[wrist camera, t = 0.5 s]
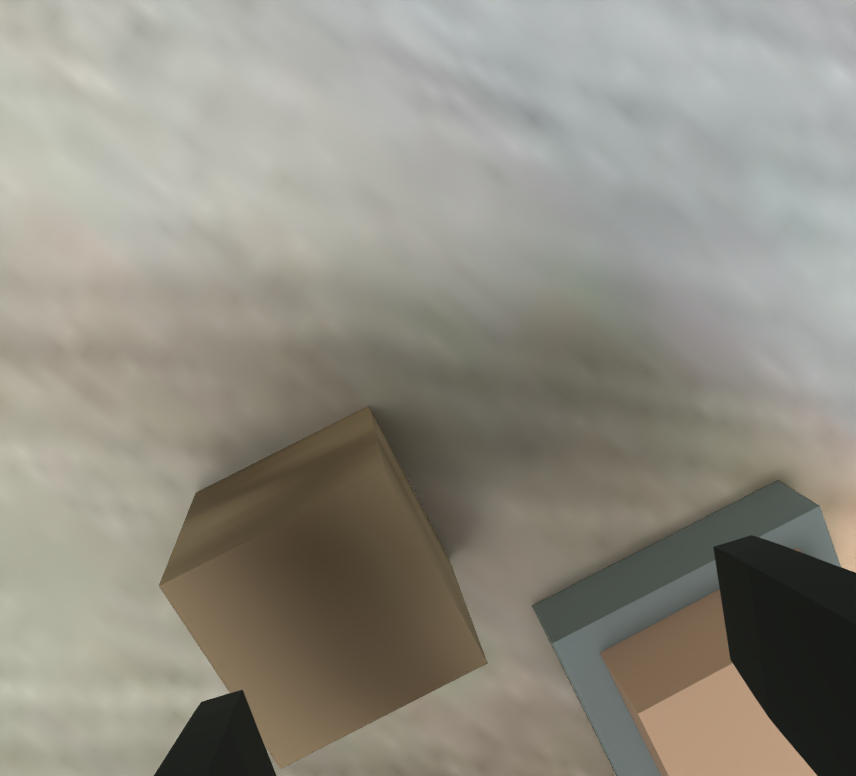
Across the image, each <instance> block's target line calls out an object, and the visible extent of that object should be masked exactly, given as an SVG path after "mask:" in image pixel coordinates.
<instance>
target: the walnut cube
mask: <svg viewBox="0 0 856 776" xmlns="http://www.w3.org/2000/svg"><path fill="white" fill-rule="evenodd" d="M159 587H160V588H161V590H162V591H163V593H164V594H165V596H166V597H167V599H168V600H169V602H170V603H171V605H172V606H173V608H174V609H175V611H176V612H177V614H178V615H179V617H180V618H181V620H182V621H183V623H184V624H185V626H186V628H187V629H188V631H189V632H190V634H191V635H192V637H193V638H194V640H195V641H196V643H197V644H198V646H199V647H200V649H201V650H202V652H203V653H204V655H205V656H206V658H207V659H208V661H209V662H210V664H211V665H212V667H213V668H214V670H215V671H216V673H217V674H218V676H219V677H220V679H221V680H222V682H223V683H224V685H225V686H226V688H227V689H228V691H229V692H230V693H233V692H236V691H239V690H243V692H244V694H245V697H246V699H247V702H248V704H249V707H250V710H251V712H252V715H253V717H254V720H255V722H256V725H257V728H258V730H259V733H260V735H261V738H262V740H263V743H264V745H265V746H266V748H267V749H268V751H269V752H270V754H271V755H272V757H273V758H274V760H275V761H276V763H277V764H278V766H279V767H280V769H281V768H283V767H285V766H287V765H289V764H291V763H293V762H295V761H297V760H299V759H301V758H303V757H305V756H307V755H309V754H311V753H313V752H314V751H316V750H318V749H320V748H322V747H324V746H326V745H328V744H330V743H332V742H334V741H336V740H338V739H340V738H342V737H344V736H346V735H348V734H350V733H352V732H354V731H356V730H358V729H359V728H361V727H363V726H365V725H367V724H369V723H371V722H373V721H375V720H377V719H379V718H381V717H383V716H385V715H387V714H389V713H391V712H393V711H395V710H397V709H399V708H401V707H403V706H405V705H406V704H408V703H410V702H412V701H414V700H416V699H418V698H420V697H422V696H424V695H426V694H428V693H430V692H432V691H434V690H436V689H438V688H440V687H442V686H444V685H446V684H448V683H450V682H451V681H453V680H455V679H457V678H459V677H461V676H463V675H465V674H467V673H469V672H471V671H473V670H475V669H477V668H479V667H481V666H483V665H485V664H487V661H486V658H485V655H484V652H483V650H482V647H481V644H480V642H479V639H478V636H477V633H476V631H475V628H474V625H473V623H472V620H471V617H470V615H469V612H468V609H467V606H466V604H465V601H464V598H463V596H462V593H461V590H460V587H459V585H458V582H457V579H456V577H455V574H454V571H453V569H452V566H451V563H450V560H449V558H448V556H447V554H446V553H445V551H444V549H443V547H442V545H441V543H440V541H439V539H438V537H437V535H436V533H435V532H434V530H433V528H432V526H431V524H430V522H429V520H428V518H427V516H426V514H425V513H424V511H423V509H422V507H421V505H420V503H419V501H418V499H417V497H416V495H415V493H414V492H413V490H412V488H411V486H410V484H409V482H408V480H407V478H406V476H405V474H404V472H403V471H402V469H401V467H400V465H399V463H398V461H397V459H396V457H395V455H394V453H393V452H392V450H391V448H390V446H389V444H388V442H387V440H386V438H385V436H384V434H383V432H382V431H381V429H380V427H379V425H378V423H377V421H376V419H375V417H374V415H373V413H372V411H371V410H370V408H369V406H368V407H366V408H364V409H362V410H360V411H358V412H356V413H354V414H352V415H350V416H348V417H346V418H344V419H342V420H340V421H338V422H336V423H334V424H332V425H330V426H328V427H326V428H324V429H322V430H320V431H318V432H316V433H314V434H312V435H310V436H308V437H306V438H304V439H302V440H300V441H298V442H296V443H294V444H292V445H290V446H288V447H286V448H284V449H282V450H280V451H278V452H276V453H274V454H272V455H270V456H268V457H266V458H264V459H262V460H260V461H258V462H256V463H254V464H252V465H250V466H248V467H246V468H244V469H243V470H241V471H239V472H237V473H235V474H233V475H231V476H229V477H227V478H225V479H223V480H221V481H219V482H217V483H215V484H213V485H211V486H209V487H207V488H205V489H203V490H201V491H199V492H197V493H196V494H195V496H194V499H193V501H192V504H191V506H190V509H189V511H188V514H187V516H186V519H185V521H184V524H183V526H182V529H181V531H180V534H179V536H178V539H177V542H176V544H175V547H174V549H173V552H172V554H171V557H170V559H169V562H168V564H167V567H166V569H165V572H164V574H163V577H162V579H161V582H160V584H159Z"/></svg>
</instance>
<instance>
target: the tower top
mask: <svg viewBox="0 0 856 776" xmlns="http://www.w3.org/2000/svg"><path fill="white" fill-rule="evenodd" d="M794 550H796V551H799V552H801V553H803V552H802V551H800V550H799V549H797V548H796V549H794ZM600 655H601V657H602V659H603V661H604V663H605V664H606V666H607V668H608V670H609V672H610V674H611V676H612V678H613V680H614V682H615V684H616V686H617V688H618V690H619V692H620V694H621V696H622V698H623V700H624V702H625V704H626V706H627V708H628V710H629V712H630V714H631V716H632V718H633V720H634V722H635V724H636V726H637V728H638V730H639V732H640V734H641V736H642V738H643V740H644V742H645V744H646V746H647V748H648V750H649V752H650V754H651V756H652V758H653V760H654V762H655V764H656V766H657V768H658V770H659V772H660V774H661V776H817V775H816V773H815V772H814V771H813V770H812V769H811V768H810V766H809V765H808V764H807V763H806V762H805V760H804V759H803V758H802V757H801V756H800V755H799V753H798V752H797V751H796V750H795V749H794V747H793V746H792V745H791V744H790V743H789V742H788V740H787V739H786V738H785V737H784V736H783V734H782V733H781V732H780V731H779V730H778V728H777V727H776V726H775V725H774V724H773V722H772V721H771V720H770V719H769V717H768V716H767V714H766V713H765V711H764V710H763V709H762V707H761V706H760V704H759V703H758V701H757V700H756V698H755V697H754V695H753V694H752V692H751V691H750V689H749V688H748V686H747V685H746V683H745V681H744V680H743V678H742V677H741V675H740V674H739V672H738V671H737V669H736V667H735V666H734V664H733V663H732V661H731V660H730V654H729V647H728V641H727V634H726V628H725V621H724V614H723V608H722V601H721V594H720V589H719V590H717V591H715V592H713V593H711V594H709V595H708V596H706V597H704V598H702V599H700V600H698V601H696V602H694V603H693V604H691V605H689V606H687V607H685V608H683V609H681V610H679V611H678V612H676V613H674V614H672V615H670V616H668V617H666V618H665V619H663V620H661V621H659V622H657V623H655V624H653V625H651V626H650V627H648V628H646V629H644V630H642V631H640V632H638V633H636V634H635V635H633V636H631V637H629V638H627V639H625V640H623V641H621V642H620V643H618V644H616V645H614V646H612V647H610V648H608V649H606V650H605V651H603V652H601V653H600Z"/></svg>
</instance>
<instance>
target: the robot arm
mask: <svg viewBox="0 0 856 776" xmlns="http://www.w3.org/2000/svg"><path fill="white" fill-rule="evenodd" d="M713 548H714V555H715V561H716V568H717V575H718V581H719V588H720V594H721V601H722V608H723V614H724V621H725V628H726V634H727V641H728V647H729V654H730V660H731V661H732V663H733V664H734V666H735V667H736V669H737V671H738V672H739V674H740V675H741V677H742V678H743V680H744V681H745V683H746V685H747V686H748V688H749V689H750V691H751V692H752V694H753V695H754V697H755V698H756V700H757V701H758V703H759V704H760V706H761V707H762V709H763V710H764V711H765V713H766V714H767V716H768V717H769V719H770V720H771V721H772V722H773V724H774V725H775V726H776V727H777V728H778V730H779V731H780V732H781V733H782V734H783V736H784V737H785V738H786V739H787V740H788V742H789V743H790V744H791V745H792V746H793V747H794V749H795V750H796V751H797V752H798V753H799V755H800V756H801V757H802V758H803V759H804V760H805V762H806V763H807V764H808V765H809V766H810V768H811V769H812V770H813V771H814V772H815V773H816V775H817V776H856V573H855V572H852V571H849V570H847V569H844V568H841V567H839V566H836V565H833V564H831V563H828V562H825V561H823V560H820V559H817V558H815V557H812V556H809V555H807V554H804V553H801V552H799V551H796V550H793V549H791V548H788V547H785V546H783V545H780V544H777V543H774V542H771V541H769V540H766V539H763V538H759V537H756V536H753V535H750V536H747V537H744V538H740V539H737V540H734V541H731V542H727V543H724V544H721V545H717V546H714V547H713ZM154 776H276V774H275V771H274V769H273V766H272V764H271V761H270V758H269V756H268V753H267V751H266V748H265V746H264V743H263V740H262V738H261V735H260V733H259V730H258V728H257V725H256V722H255V720H254V717H253V715H252V712H251V710H250V707H249V704H248V702H247V699H246V697H245V694H244V692H243V690H239V691H236V692H233V693H230V694H226V695H223V696H220V697H216V698H213V699H210V700H206V701H203V702H201V703H200V705H199V706H198V708H197V709H196V711H195V712H194V714H193V715H192V717H191V718H190V720H189V721H188V723H187V724H186V726H185V728H184V729H183V731H182V732H181V734H180V735H179V737H178V739H177V740H176V742H175V743H174V745H173V747H172V748H171V750H170V751H169V753H168V754H167V756H166V758H165V759H164V761H163V762H162V764H161V765H160V767H159V769H158V770H157V772H156V773H155V775H154Z"/></svg>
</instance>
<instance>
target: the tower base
mask: <svg viewBox="0 0 856 776" xmlns="http://www.w3.org/2000/svg"><path fill="white" fill-rule="evenodd" d="M750 535H753V536H756V537H759V538H763V539H766V540H769V541H771V542H774V543H777V544H780V545H783V546H785V547H788V548H791V549H793V550H794V549H796V548H797V549H799V550H800V551H802V552H803V553H804V554H807V555H809V556H812V557H815V558H817V559H820V560H823V561H825V562H828V563H831V564H833V565H836V566H839V567H841V566H840V563H839V560H838V557H837V554H836V552H835V549H834V546H833V543H832V540H831V537H830V534H829V531H828V529H827V526H826V523H825V520H824V517H823V514H822V511H821V508H820V506H819V505H817V504H816V503H814V502H812V501H811V500H809V499H808V498H806V497H804V496H803V495H801V494H799V493H798V492H796V491H795V490H793V489H791V488H790V487H788V486H786V485H785V484H783V483H781V482H780V481H778V480H777V481H775V482H773V483H771V484H770V485H768V486H766V487H764V488H762V489H760V490H758V491H756V492H754V493H752V494H750V495H748V496H746V497H744V498H742V499H740V500H738V501H736V502H734V503H732V504H730V505H728V506H727V507H725V508H723V509H721V510H719V511H717V512H715V513H713V514H711V515H709V516H707V517H705V518H703V519H701V520H699V521H697V522H695V523H693V524H691V525H689V526H687V527H685V528H683V529H682V530H680V531H678V532H676V533H674V534H672V535H670V536H668V537H666V538H664V539H662V540H660V541H658V542H656V543H654V544H652V545H650V546H648V547H646V548H644V549H642V550H640V551H638V552H637V553H635V554H633V555H631V556H629V557H627V558H625V559H623V560H621V561H619V562H617V563H615V564H613V565H611V566H609V567H607V568H605V569H603V570H601V571H599V572H597V573H595V574H594V575H592V576H590V577H588V578H586V579H584V580H582V581H580V582H578V583H576V584H574V585H572V586H570V587H568V588H566V589H564V590H562V591H560V592H558V593H556V594H554V595H552V596H550V597H549V598H547V599H545V600H543V601H541V602H539V603H537V604H535V605H533V606H532V607H533V609H534V611H535V613H536V615H537V617H538V619H539V621H540V623H541V625H542V627H543V629H544V631H545V633H546V635H547V637H548V639H549V641H550V643H551V645H552V647H553V649H554V651H555V653H556V655H557V657H558V659H559V661H560V663H561V665H562V667H563V669H564V671H565V673H566V675H567V677H568V679H569V681H570V683H571V685H572V687H573V689H574V691H575V693H576V695H577V697H578V699H579V701H580V703H581V705H582V707H583V709H584V711H585V713H586V715H587V717H588V719H589V721H590V723H591V725H592V727H593V729H594V731H595V733H596V735H597V737H598V739H599V741H600V743H601V745H602V747H603V749H604V751H605V753H606V756H607V758H608V760H609V762H610V764H611V766H612V768H613V770H614V772H615V774H616V776H661V774H660V772H659V770H658V768H657V766H656V764H655V762H654V760H653V758H652V756H651V754H650V752H649V750H648V748H647V746H646V744H645V742H644V740H643V738H642V736H641V734H640V732H639V730H638V728H637V726H636V724H635V722H634V720H633V718H632V716H631V714H630V712H629V710H628V708H627V706H626V704H625V702H624V700H623V698H622V696H621V694H620V692H619V690H618V688H617V686H616V684H615V682H614V680H613V678H612V676H611V674H610V672H609V670H608V668H607V666H606V664H605V663H604V661H603V659H602V657H601V655H600V653H601V652H603V651H605V650H606V649H608V648H610V647H612V646H614V645H616V644H618V643H620V642H621V641H623V640H625V639H627V638H629V637H631V636H633V635H635V634H636V633H638V632H640V631H642V630H644V629H646V628H648V627H650V626H651V625H653V624H655V623H657V622H659V621H661V620H663V619H665V618H666V617H668V616H670V615H672V614H674V613H676V612H678V611H679V610H681V609H683V608H685V607H687V606H689V605H691V604H693V603H694V602H696V601H698V600H700V599H702V598H704V597H706V596H708V595H709V594H711V593H713V592H715V591H717V590H719V589H720V588H719V581H718V575H717V568H716V561H715V555H714V548H713V547H714V546H717V545H721V544H724V543H727V542H731V541H734V540H737V539H740V538H744V537H747V536H750Z"/></svg>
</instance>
